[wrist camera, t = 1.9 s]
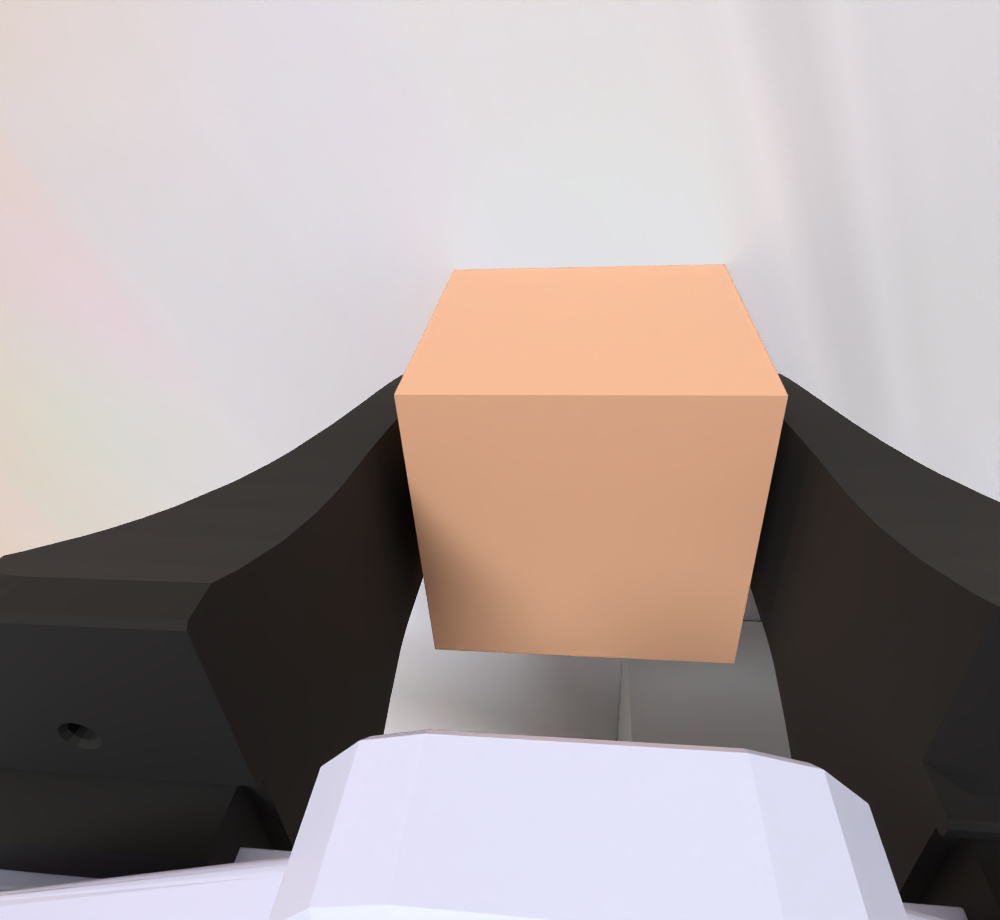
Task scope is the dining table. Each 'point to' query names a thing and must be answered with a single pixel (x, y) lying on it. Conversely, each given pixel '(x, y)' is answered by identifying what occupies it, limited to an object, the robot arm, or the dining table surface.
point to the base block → (706, 700)
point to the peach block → (590, 460)
